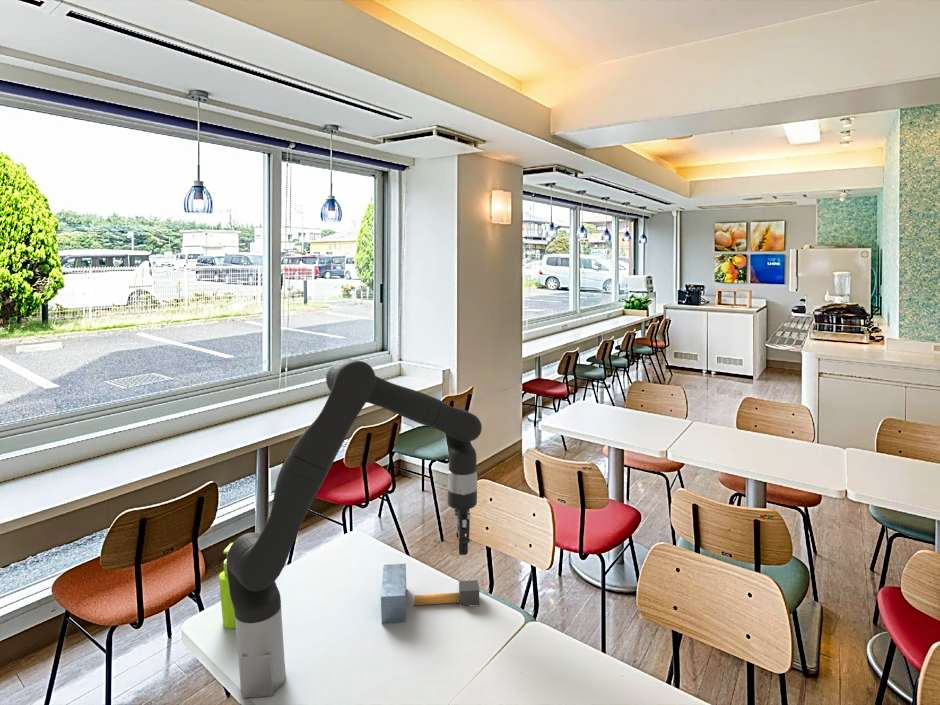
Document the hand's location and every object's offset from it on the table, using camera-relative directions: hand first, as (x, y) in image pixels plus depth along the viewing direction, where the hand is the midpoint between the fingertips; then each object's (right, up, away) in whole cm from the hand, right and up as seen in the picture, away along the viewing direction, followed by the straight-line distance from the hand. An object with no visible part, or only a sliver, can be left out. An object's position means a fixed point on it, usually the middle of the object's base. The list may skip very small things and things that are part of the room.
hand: (461, 545), depth 148 cm
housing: (-18, -16, +2) cm, 24 cm away
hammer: (-4, -16, +3) cm, 17 cm away
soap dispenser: (-57, -18, -4) cm, 60 cm away
